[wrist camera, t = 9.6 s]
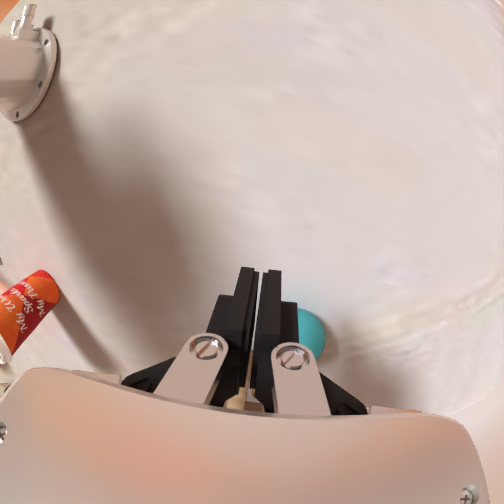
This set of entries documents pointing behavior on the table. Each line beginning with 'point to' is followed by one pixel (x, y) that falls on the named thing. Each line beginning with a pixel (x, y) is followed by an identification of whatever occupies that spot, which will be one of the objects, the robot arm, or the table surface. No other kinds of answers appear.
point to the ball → (311, 332)
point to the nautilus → (3, 388)
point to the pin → (241, 391)
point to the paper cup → (25, 310)
